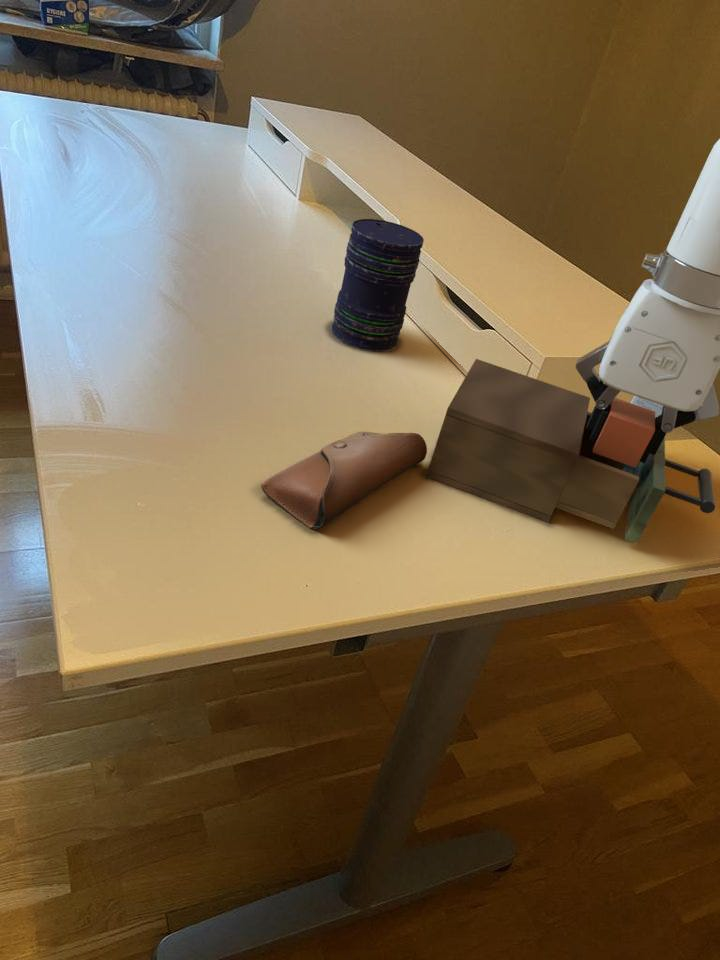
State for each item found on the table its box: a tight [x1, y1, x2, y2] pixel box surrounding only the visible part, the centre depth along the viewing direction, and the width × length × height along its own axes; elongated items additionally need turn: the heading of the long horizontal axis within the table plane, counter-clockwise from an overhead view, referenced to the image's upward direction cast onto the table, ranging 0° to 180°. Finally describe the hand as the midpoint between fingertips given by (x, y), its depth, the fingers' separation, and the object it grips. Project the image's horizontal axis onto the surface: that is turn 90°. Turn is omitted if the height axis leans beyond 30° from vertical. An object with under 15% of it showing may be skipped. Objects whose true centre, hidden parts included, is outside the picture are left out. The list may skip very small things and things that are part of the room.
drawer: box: [555, 411, 716, 545], centre depth 79 cm, size 18×13×7 cm
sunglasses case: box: [260, 431, 428, 530], centre depth 74 cm, size 18×7×7 cm, turn 144°
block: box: [593, 397, 655, 468], centre depth 77 cm, size 5×5×5 cm
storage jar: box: [331, 218, 425, 352], centre depth 101 cm, size 10×10×15 cm
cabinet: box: [425, 358, 591, 523], centre depth 81 cm, size 14×14×9 cm
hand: (617, 445), depth 78 cm, fingers closed on block, 4 cm apart
